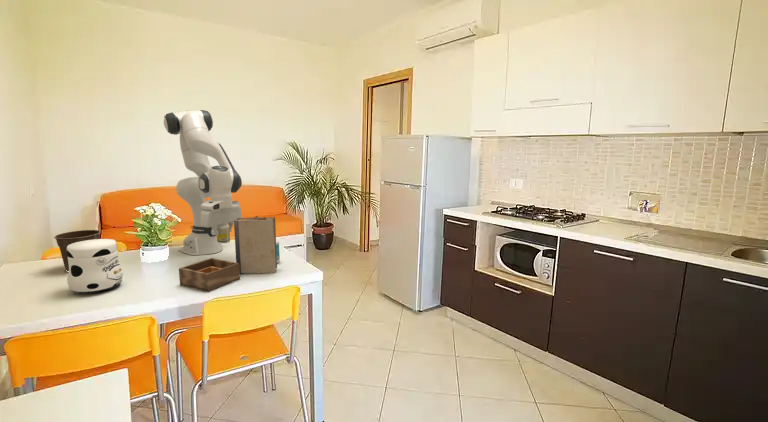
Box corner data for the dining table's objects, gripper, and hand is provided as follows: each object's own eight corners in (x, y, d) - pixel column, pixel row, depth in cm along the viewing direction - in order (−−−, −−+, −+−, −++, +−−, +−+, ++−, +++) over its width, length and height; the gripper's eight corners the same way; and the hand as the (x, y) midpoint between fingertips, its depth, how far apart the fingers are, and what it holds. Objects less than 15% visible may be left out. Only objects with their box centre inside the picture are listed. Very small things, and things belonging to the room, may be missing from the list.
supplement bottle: (224, 239, 182) (223, 219, 181) (232, 241, 180) (231, 220, 178) (214, 242, 178) (213, 221, 176) (222, 244, 175) (221, 222, 173)
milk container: (128, 289, 154) (123, 244, 151) (71, 300, 142) (65, 252, 139) (118, 277, 166) (114, 236, 163) (66, 287, 155) (60, 243, 151)
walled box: (180, 285, 159) (178, 268, 158) (212, 273, 173) (211, 258, 172) (208, 291, 152) (207, 274, 151) (240, 279, 166) (239, 263, 165)
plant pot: (50, 275, 168) (45, 238, 165) (72, 264, 183) (67, 230, 181) (93, 273, 171) (89, 237, 168) (111, 262, 186) (107, 229, 184)
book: (277, 268, 181) (275, 214, 177) (275, 273, 174) (273, 217, 170) (238, 269, 178) (235, 215, 174) (235, 274, 172) (232, 218, 168)
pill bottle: (282, 260, 193) (281, 233, 190) (276, 265, 185) (275, 237, 183) (267, 260, 193) (266, 233, 191) (261, 264, 186) (259, 236, 184)
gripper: (234, 199, 186) (235, 228, 189) (197, 205, 168) (199, 237, 170) (244, 200, 183) (245, 229, 186) (208, 207, 165) (209, 239, 168)
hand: (223, 233), depth 178 cm, fingers closed on supplement bottle, 5 cm apart
